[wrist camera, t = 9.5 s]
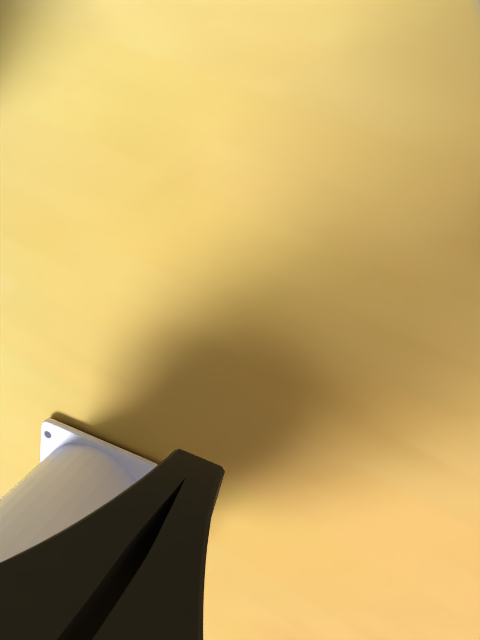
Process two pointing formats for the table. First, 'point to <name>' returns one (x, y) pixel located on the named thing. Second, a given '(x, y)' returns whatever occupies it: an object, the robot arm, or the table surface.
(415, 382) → the table surface
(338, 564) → the table surface
